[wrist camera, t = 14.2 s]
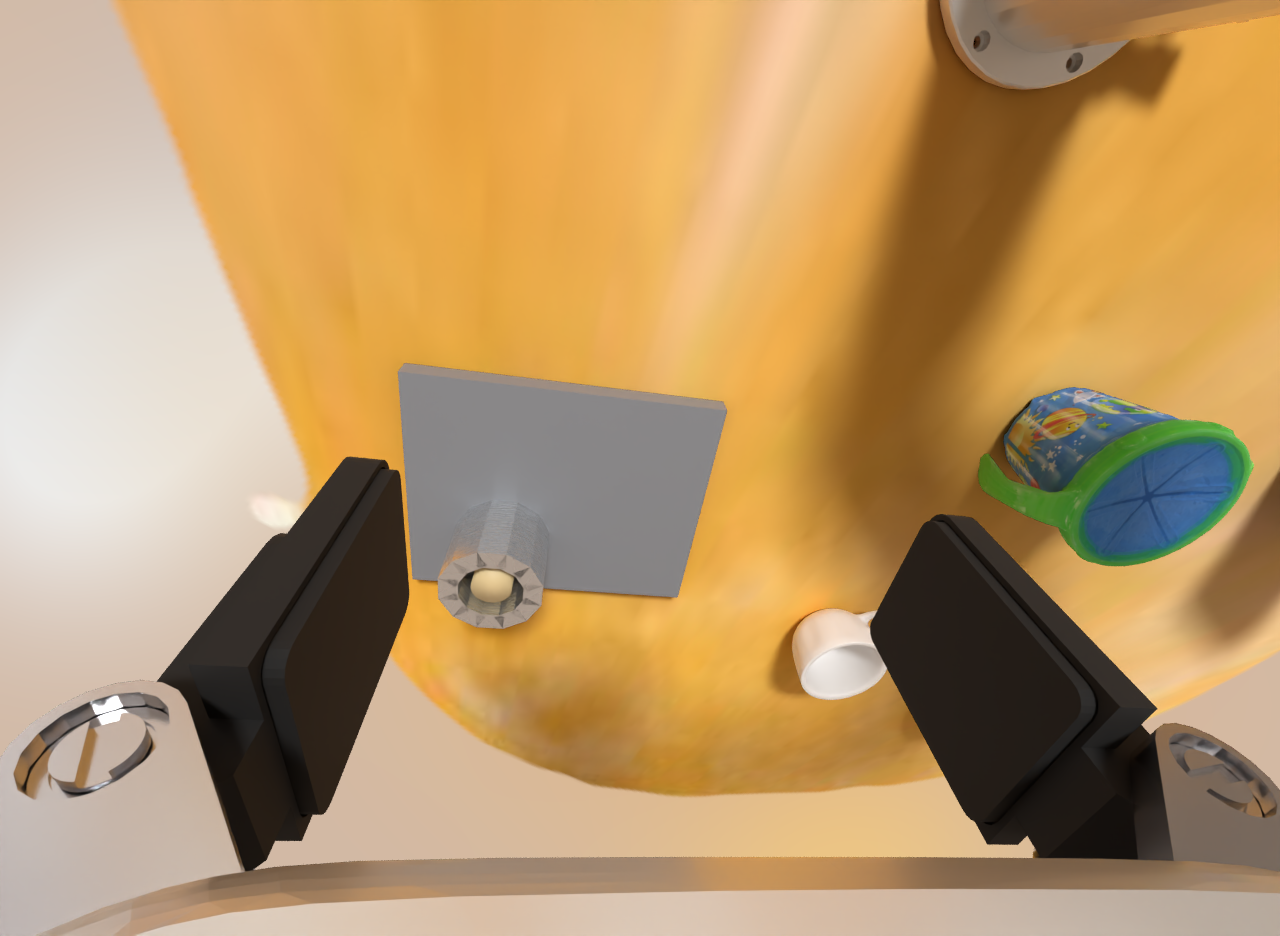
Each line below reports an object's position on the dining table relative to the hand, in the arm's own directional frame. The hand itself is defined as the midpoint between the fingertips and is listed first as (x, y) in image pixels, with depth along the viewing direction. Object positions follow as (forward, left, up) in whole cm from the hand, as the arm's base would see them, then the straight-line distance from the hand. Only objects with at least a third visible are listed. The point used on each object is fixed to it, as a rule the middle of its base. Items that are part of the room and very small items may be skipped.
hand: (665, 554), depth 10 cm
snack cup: (-35, +8, -28) cm, 46 cm away
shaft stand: (+2, +18, -28) cm, 34 cm away
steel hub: (+6, +22, -27) cm, 35 cm away
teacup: (-25, +30, -29) cm, 48 cm away
